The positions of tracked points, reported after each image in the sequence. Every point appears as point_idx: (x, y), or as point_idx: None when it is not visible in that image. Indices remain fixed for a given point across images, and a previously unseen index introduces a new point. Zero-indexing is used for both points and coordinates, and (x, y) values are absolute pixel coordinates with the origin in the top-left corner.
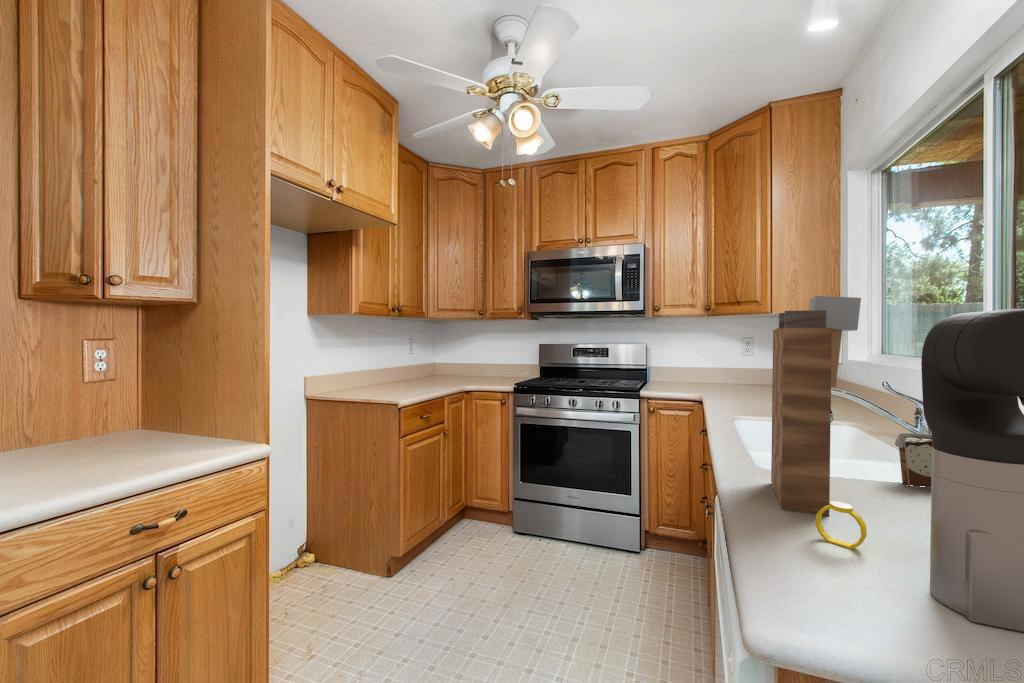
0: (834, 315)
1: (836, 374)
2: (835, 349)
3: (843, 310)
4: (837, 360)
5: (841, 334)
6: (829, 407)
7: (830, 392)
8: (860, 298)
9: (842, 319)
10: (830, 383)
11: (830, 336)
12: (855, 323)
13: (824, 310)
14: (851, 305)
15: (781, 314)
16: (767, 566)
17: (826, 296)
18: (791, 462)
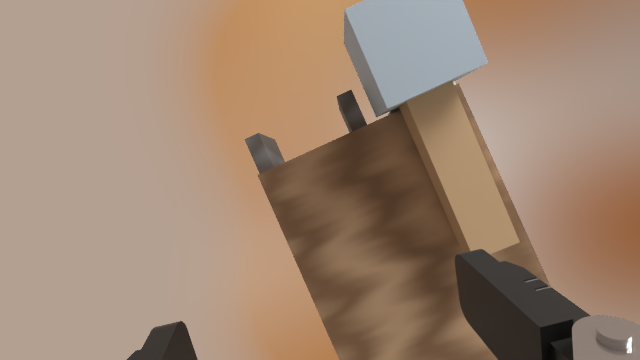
0: (365, 79)
1: (458, 225)
2: (428, 157)
3: (360, 61)
4: (443, 187)
5: (412, 115)
6: (330, 339)
7: (317, 308)
8: (346, 11)
9: (371, 85)
10: (309, 289)
11: (265, 192)
12: (378, 89)
13: (246, 140)
14: (354, 41)
15: (340, 111)
16: None
17: (344, 37)
18: None
